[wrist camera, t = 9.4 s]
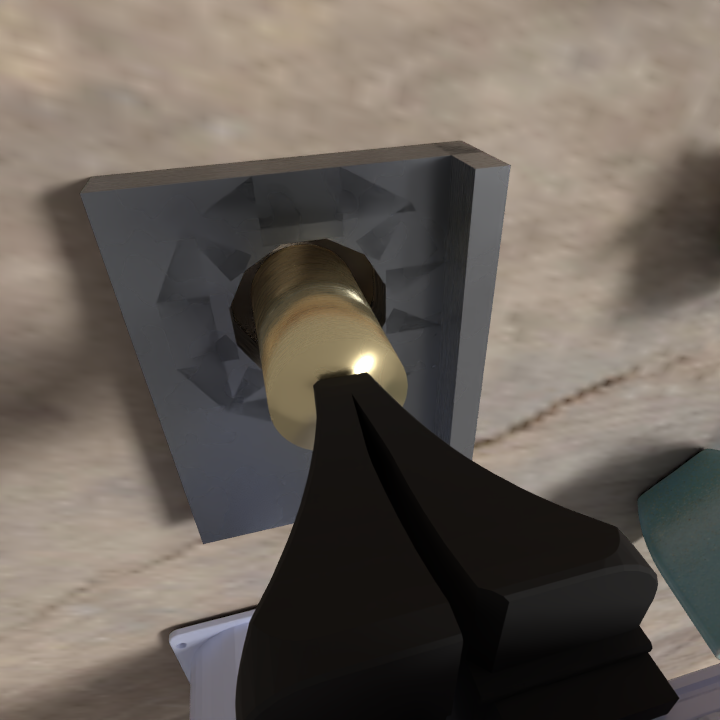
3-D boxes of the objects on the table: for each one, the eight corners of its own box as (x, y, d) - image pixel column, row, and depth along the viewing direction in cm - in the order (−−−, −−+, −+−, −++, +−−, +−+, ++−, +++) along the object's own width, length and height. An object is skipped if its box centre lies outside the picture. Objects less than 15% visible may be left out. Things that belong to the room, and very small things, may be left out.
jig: (437, 462, 24) (464, 515, 22) (203, 513, 22) (203, 578, 20) (461, 140, 16) (510, 165, 13) (91, 176, 14) (66, 213, 11)
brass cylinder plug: (355, 329, 19) (405, 437, 14) (259, 345, 18) (277, 463, 14) (351, 238, 17) (409, 327, 12) (242, 251, 16) (258, 352, 11)
